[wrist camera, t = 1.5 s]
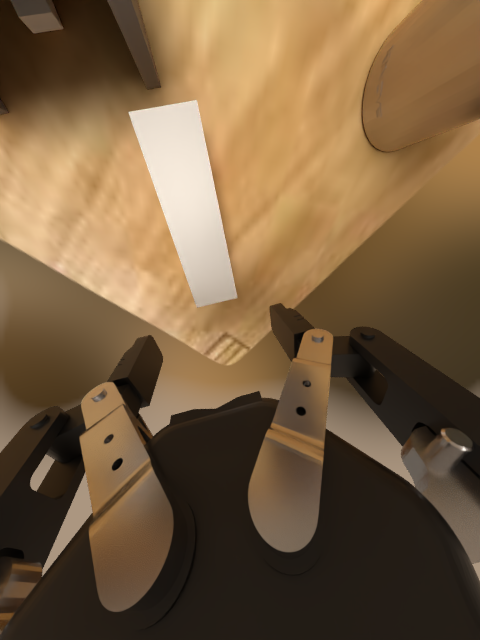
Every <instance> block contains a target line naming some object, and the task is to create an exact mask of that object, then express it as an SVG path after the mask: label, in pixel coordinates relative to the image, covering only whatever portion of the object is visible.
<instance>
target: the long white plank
mask: <svg viewBox="0 0 480 640" xmlns="http://www.w3.org/2000/svg"><path fill="white" fill-rule="evenodd" d="M128 113H129V115H130V118H131V121H132V124H133V127H134V130H135V133H136V135H137V138H138V141H139V144H140V147H141V150H142V153H143V155H144V158H145V161H146V164H147V167H148V170H149V172H150V175H151V178H152V181H153V184H154V187H155V190H156V192H157V195H158V198H159V201H160V204H161V207H162V210H163V212H164V215H165V218H166V221H167V224H168V227H169V230H170V232H171V235H172V238H173V241H174V244H175V247H176V249H177V252H178V255H179V258H180V261H181V264H182V267H183V269H184V272H185V275H186V278H187V281H188V284H189V287H190V289H191V292H192V295H193V298H194V301H195V304H196V306H197V307H202V306H206V305H210V304H214V303H218V302H223V301H227V300H231V299H235V298H237V293H236V288H235V283H234V278H233V273H232V269H231V264H230V259H229V254H228V249H227V244H226V239H225V235H224V230H223V225H222V220H221V215H220V210H219V205H218V201H217V196H216V191H215V186H214V181H213V176H212V171H211V167H210V162H209V157H208V152H207V147H206V142H205V138H204V133H203V128H202V123H201V118H200V113H199V108H198V104H197V100H194V101H188V102H182V103H177V104H171V105H165V106H160V107H154V108H148V109H143V110H137V111H131V112H128Z"/></svg>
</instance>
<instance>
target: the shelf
mask: <svg viewBox="0 0 480 640" xmlns="http://www.w3.org/2000/svg"><path fill="white" fill-rule="evenodd" d="M107 1H108V3H109V6H110V8H111V10H112V12H113V14H114V17H115V19H116V21H117V23H118V26H119V28H120V30H121V32H122V34H123V37H124V39H125V41H126V43H127V46H128V48H129V50H130V52H131V54H132V57H133V59H134V61H135V63H136V66H137V68H138V70H139V72H140V74H141V77H142V79H143V81H144V83H145V86H146V88H147V89H153V88H159V87H161V86H160V82H159V78H158V74H157V71H156V67H155V63H154V60H153V56H152V52H151V49H150V45H149V41H148V37H147V34H146V30H145V26H144V23H143V19H142V15H141V12H140V8H139V4H138V0H107ZM11 2H12V4H13V7H14V9H15V11H16V13H17V15H18V17H19V18H20V19H21V20H22V21H23V22H24V24H25V25H26V26H27V27H28V28H29V29H30V30H31V31H32V32H33V33H41V32H47V31H54V30H61V29H64V28H63V26H62V23H61V21H60V19H59V16H58V14H57V11H56V9H55V6H54V4H53V2H52V0H11ZM6 113H9V112H8V110H7V109H6V107H5V105H4V104H3V102H2V100H1V99H0V114H6Z"/></svg>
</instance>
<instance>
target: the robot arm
mask: <svg viewBox="0 0 480 640" xmlns="http://www.w3.org/2000/svg"><path fill="white" fill-rule="evenodd" d="M362 113H363V124H364V128H365V132H366V135H367V137H368V139H369V141H370V143H371V144H372V145H373V146H374V147H375V148H377V149H379V150H381V151H386V152H391V151H395V150H399V149H401V148H404V147H407V146H409V145H412V144H415V143H417V142H420V141H422V140H425V139H428V138H430V137H433V136H436V135H439V134H441V133H444V132H447V131H449V130H452V129H454V128H457V127H460V126H462V125H465V124H468V123H470V122H473V121H475V120H478V119H480V0H422V1H421V2H420V3H419V4H418V5H417V6H416V7H415V8H414V9H413V10H412V12H411V13H410V14H409V15H408V16H407V17H406V18H405V19H404V20H403V21H402V22H401V23H400V24H399V25H398V26H397V27H396V28H395V29H394V31H393V32H392V33H391V34H390V35H389V37H388V38H387V39H386V41H385V42H384V44H383V46H382V47H381V49H380V51H379V52H378V54H377V56H376V58H375V61H374V63H373V65H372V67H371V70H370V73H369V76H368V80H367V83H366V87H365V93H364V98H363V112H362ZM270 318H271V327H272V330H273V333H274V335H275V336H276V338H277V339H278V341H279V343H280V344H281V346H282V347H283V349H284V351H285V352H286V354H287V355H288V357H289V359H290V360H291V362H292V363H291V366H290V369H289V372H288V375H287V378H286V382H285V385H284V388H283V391H282V394H281V397H280V400H276V399H271V398H261V395H260V392H259V391H258V392H254V393H251V394H247V395H243V396H240V397H237V398H235V399H233V400H232V401H230V402H228V403H226V404H224V405H222V406H221V407H219V408H216V409H193V410H190V411H186V412H182V413H179V414H175V415H171V420H170V424H169V425H167V426H166V427H164V428H163V429H161V430H160V431H159V432H158V433H156V435H154V436H153V435H152V433H151V432H150V430H149V428H148V427H147V425H146V423H145V421H144V420H143V418H142V417H141V415H140V414H139V413H138V412H139V409H140V408H143V407H146V406H149V405H150V402H151V399H152V395H153V392H154V389H155V386H156V382H157V379H158V376H159V372H160V369H161V366H162V363H163V356H162V353H161V351H160V349H159V347H158V346H157V344H156V342H155V340H154V338H153V337H152V336H151V335H148V336H144V337H140V338H138V339H137V340H136V341H135V343H134V345H133V346H132V347H131V348H130V349H129V350H128V351H127V352H126V353H125V354H124V355H123V357H122V359H121V361H120V362H119V363H118V366H116V368H115V370H114V372H113V373H112V374H111V376H110V378H109V379H108V381H107V382H106V383H103V384H101V385H99V386H97V387H95V388H94V389H92V390H91V391H90V392H89V393H88V394H87V395H86V396H85V397H84V398H83V400H82V402H81V404H80V405H78V406H76V407H74V408H72V409H70V410H68V411H66V412H65V411H64V410H63V409H61V408H60V407H58V406H54V407H50V408H48V409H46V410H44V411H42V412H40V413H38V414H37V415H35V416H34V417H33V418H31V419H30V420H29V421H28V422H27V423H26V424H25V425H24V426H23V427H22V428H21V429H20V430H19V432H18V433H17V434H16V435H15V436H14V438H13V439H12V440H11V441H10V442H9V443H8V445H7V446H6V447H5V448H4V449H3V450H2V452H1V453H0V640H480V581H479V579H478V576H477V574H476V572H475V570H474V567H473V565H472V564H474V563H478V562H480V398H479V397H477V396H476V395H474V394H473V393H471V392H470V391H468V390H467V389H465V388H464V387H462V386H461V385H459V384H458V383H456V382H455V381H453V380H452V379H451V378H449V377H448V376H446V375H445V374H443V373H442V372H440V371H439V370H437V369H436V368H434V367H433V366H431V365H430V364H428V363H427V362H425V361H424V360H422V359H421V358H419V357H418V356H416V355H415V354H413V353H412V352H410V351H409V350H407V349H406V348H405V347H403V346H402V345H400V344H398V343H397V342H395V341H394V340H393V339H391V338H390V337H388V336H387V335H385V334H384V333H382V332H381V331H379V330H377V329H374V328H370V327H356V328H354V329H352V330H351V332H350V336H339V337H333V336H332V334H331V333H329V332H328V331H325V330H321V329H315V328H314V327H313V326H312V325H311V324H310V323H309V322H308V321H307V320H305V319H304V317H302V316H301V315H300V314H299V313H298V312H297V311H296V310H293V309H291V308H289V309H286V308H285V307H284V306H283V305H282V304H281V303H279V304H275V305H271V306H270ZM377 370H378V371H379V372H380V373H381V374H382V375H383V376H384V377H385V378H384V377H383V376H382V375H381V374H380V373H379V372H378V371H377ZM330 377H346V378H347V380H348V381H349V382H350V383H351V385H352V386H353V387H354V388H355V389H356V391H357V392H358V393H359V394H360V395H361V397H362V398H363V399H364V400H365V402H366V403H367V404H368V405H369V406H370V408H371V409H372V410H373V411H374V412H375V413H376V415H377V416H378V417H379V419H380V420H381V421H382V422H383V423H384V425H385V426H386V427H387V428H388V429H389V431H390V432H391V433H392V434H393V435H394V437H395V438H396V439H397V440H398V442H399V443H400V444H401V445H402V446H403V447H402V449H401V458H402V460H403V463H404V465H405V467H406V468H407V470H408V472H409V473H410V475H411V477H412V479H413V481H414V484H415V487H414V486H413V485H412V484H410V483H409V482H408V481H406V480H405V479H404V478H402V477H401V476H399V475H398V474H396V473H395V472H393V471H391V470H390V469H388V468H387V467H385V466H383V465H382V464H381V463H379V462H377V461H376V460H374V459H373V458H371V457H369V456H368V455H366V454H365V453H363V452H362V451H360V450H359V449H357V448H356V447H354V446H352V445H351V444H349V443H348V442H346V441H345V440H343V439H341V438H340V437H338V436H337V435H335V434H333V433H332V432H331V431H329V430H327V429H326V418H327V407H328V396H329V385H330ZM45 454H47V455H48V456H50V457H52V458H53V459H55V461H54V463H53V464H52V466H51V468H50V470H49V471H48V473H47V475H46V476H45V478H44V480H43V481H42V483H41V485H40V486H39V488H38V490H37V492H36V491H34V490H32V489H31V487H30V480H31V477H32V475H33V473H34V471H35V470H36V468H37V467H38V465H39V464H40V462H41V461H42V459H43V458H44V456H45ZM85 472H86V477H87V483H88V488H89V494H90V500H91V505H92V511H93V513H92V514H91V515H90V516H89V518H88V519H87V520H86V522H85V523H84V524H83V525H82V527H81V528H80V529H79V531H78V532H77V533H76V534H75V536H74V537H73V538H72V540H71V541H70V542H69V543H68V545H67V546H66V547H65V549H64V550H63V551H62V552H61V554H60V555H59V556H58V558H57V559H56V560H55V561H54V563H53V564H52V565H51V566H50V568H49V569H48V570H47V572H46V573H45V574H44V575H43V577H42V569H43V567H44V565H45V563H46V560H47V558H48V556H49V553H50V551H51V549H52V547H53V544H54V542H55V540H56V537H57V535H58V533H59V531H60V528H61V526H62V524H63V521H64V519H65V517H66V514H67V512H68V510H69V508H70V506H71V503H72V501H73V499H74V496H75V493H76V492H77V490H78V487H79V485H80V483H81V480H82V478H83V476H84V473H85Z"/></svg>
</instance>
